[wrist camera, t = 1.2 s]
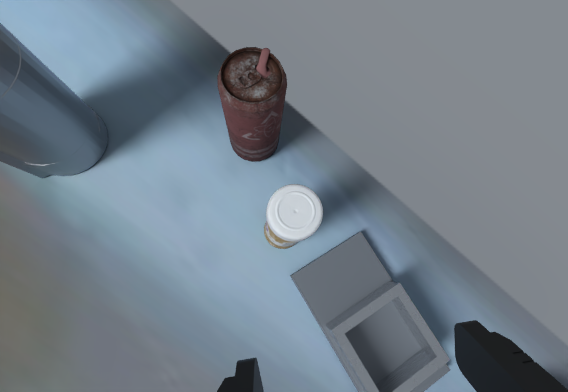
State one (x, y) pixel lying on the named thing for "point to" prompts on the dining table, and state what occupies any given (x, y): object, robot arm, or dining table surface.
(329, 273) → the slate board
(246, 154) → the can
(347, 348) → the collar
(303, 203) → the sprinkles bottle
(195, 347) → the dining table surface
